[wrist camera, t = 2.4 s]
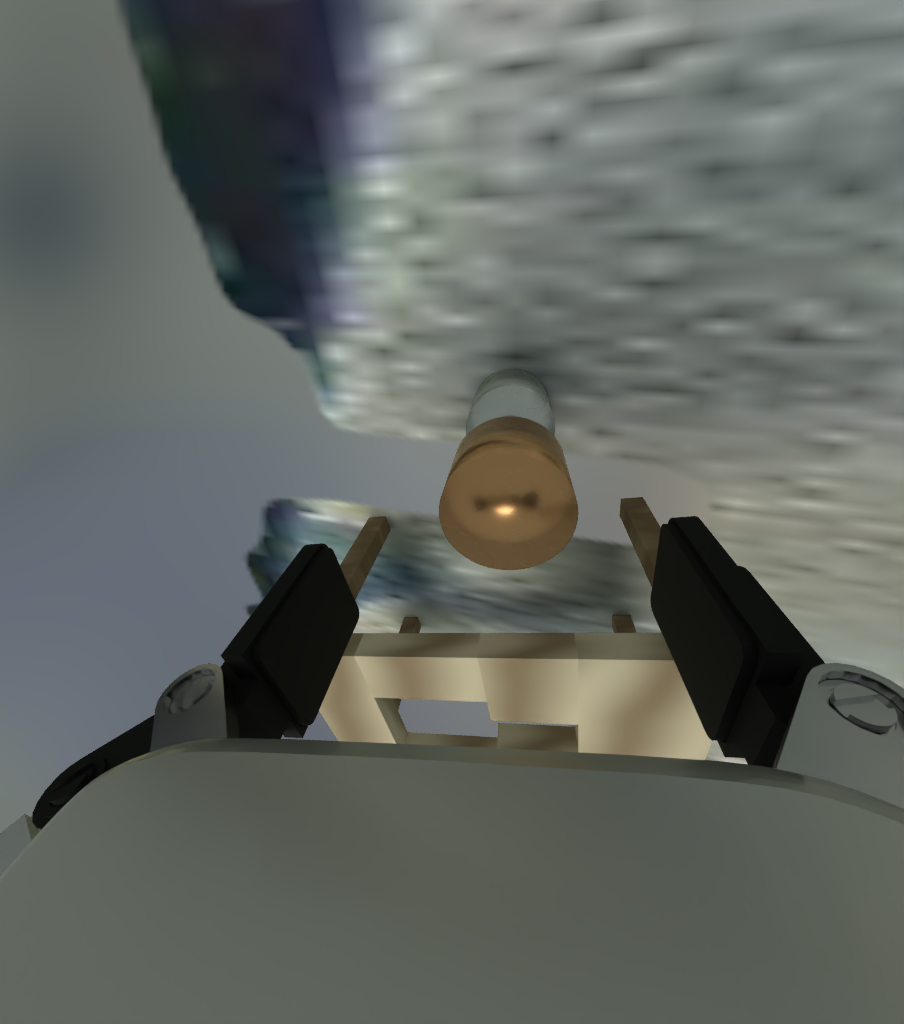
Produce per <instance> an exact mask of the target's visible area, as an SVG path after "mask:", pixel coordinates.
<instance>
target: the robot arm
mask: <svg viewBox="0 0 904 1024" xmlns="http://www.w3.org/2000/svg"><path fill="white" fill-rule="evenodd" d="M651 608H652V611H653V614H654V616H655V618H656V621H657V623H658V625H659V628H660V630H661V632H662V634H663V637H664V639H665V641H666V644H667V646H668V648H669V650H670V653H671V655H672V657H673V659H674V662H675V664H676V666H677V669H678V671H679V673H680V675H681V678H682V680H683V682H684V685H685V687H686V689H687V691H688V694H689V696H690V698H691V701H692V703H693V705H694V707H695V710H696V712H697V714H698V716H699V719H700V721H701V723H702V726H703V728H704V730H705V732H706V734H707V736H708V737H709V739H711V740H717V741H718V743H719V745H720V747H721V750H722V752H723V754H724V756H725V757H736V758H745V759H746V761H747V763H748V765H747V764H738V763H729V762H720V761H710V760H695V759H680V758H666V757H651V756H636V755H620V754H600V753H581V752H561V751H542V750H522V749H502V748H481V747H460V746H438V745H416V744H394V743H371V742H346V741H321V740H320V741H319V740H296V739H295V740H294V739H281V737H282V735H284V737H295V738H303V736H304V734H305V732H306V729H307V727H308V725H311V724H312V723H313V722H314V720H315V718H316V716H317V714H318V712H319V709H320V707H321V705H322V702H323V700H324V698H325V695H326V693H327V691H328V688H329V686H330V684H331V682H332V679H333V677H334V675H335V672H336V670H337V668H338V665H339V663H340V661H341V659H342V656H343V654H344V652H345V649H346V647H347V645H348V642H349V640H350V638H351V636H352V633H353V631H354V629H355V626H356V624H357V622H358V619H359V609H358V606H357V604H356V602H355V599H354V597H353V595H352V592H351V590H350V588H349V586H348V583H347V581H346V579H345V576H344V574H343V572H342V570H341V567H340V565H339V563H338V560H337V558H336V556H335V554H334V551H333V550H332V549H331V548H328V546H327V545H326V544H310V545H305V546H304V547H303V548H302V549H301V550H300V552H299V553H298V554H297V556H296V557H295V558H294V560H293V561H292V562H291V564H290V565H289V566H288V568H287V569H286V570H285V572H284V573H283V574H282V575H281V577H280V578H279V579H278V581H277V582H276V583H275V585H274V586H273V587H272V589H271V590H270V591H269V593H268V594H267V595H266V597H265V598H264V599H263V601H262V602H261V603H260V604H259V606H258V607H257V608H256V610H255V611H254V612H253V614H252V615H251V616H250V618H249V619H248V620H247V622H246V623H245V624H244V626H243V627H242V628H241V630H240V631H239V632H238V633H237V635H236V636H235V637H234V639H233V640H232V641H231V643H230V644H229V645H228V647H227V648H226V649H225V651H224V652H223V654H222V655H221V656H222V658H223V659H224V661H225V662H224V663H223V665H222V666H221V667H219V666H218V665H216V664H210V663H208V664H203V665H199V666H197V667H195V668H192V669H190V670H189V671H187V672H185V673H184V674H182V675H181V676H179V677H178V678H177V679H176V680H174V681H173V682H172V683H171V684H170V685H169V686H168V687H167V689H165V691H164V692H163V693H162V695H161V696H160V698H159V700H158V702H157V705H156V708H155V715H153V716H151V717H150V718H148V719H147V720H145V721H143V722H142V723H140V724H138V725H136V726H135V727H133V728H132V729H130V730H128V731H127V732H125V733H123V734H122V735H120V736H118V737H117V738H115V739H113V740H112V741H110V742H108V743H107V744H105V745H103V746H102V747H100V748H98V749H97V750H95V751H93V752H92V753H90V754H88V755H87V756H85V757H83V758H82V759H80V760H79V761H77V762H76V763H74V764H73V765H71V766H70V767H69V768H67V769H66V770H65V771H64V772H63V773H61V774H60V775H59V776H58V777H57V778H56V779H55V780H54V781H53V783H52V784H51V785H50V786H49V787H48V788H47V789H46V790H45V792H44V793H43V795H42V796H41V798H40V799H39V801H38V802H37V805H36V807H35V809H34V811H33V816H32V817H30V816H28V815H26V814H24V815H23V816H21V817H20V818H19V819H18V820H16V821H15V822H14V823H13V824H11V825H10V826H9V827H8V828H6V829H5V830H4V831H3V832H1V833H0V1024H904V689H903V688H901V687H900V686H898V685H897V684H895V683H894V682H892V681H891V680H889V679H887V678H885V677H882V676H880V675H878V674H876V673H874V672H872V671H869V670H866V669H863V668H860V667H856V666H853V665H847V664H840V663H829V664H825V663H824V661H823V660H822V659H821V658H820V656H819V655H818V654H817V653H816V652H815V650H814V649H813V648H812V647H811V646H810V644H809V643H808V642H807V641H806V640H805V638H804V637H803V636H802V635H801V634H800V632H799V631H798V630H797V629H796V628H795V626H794V625H793V624H792V623H791V621H790V620H789V619H788V618H787V617H786V615H785V614H784V613H783V612H782V611H781V609H780V608H779V607H778V606H777V605H776V603H775V602H774V601H773V600H772V599H771V597H770V596H769V595H768V594H767V593H766V591H765V590H764V589H763V588H762V586H761V585H760V584H759V583H758V582H757V580H756V579H755V578H754V577H753V576H752V574H751V573H750V572H749V571H748V570H747V569H746V568H744V567H741V566H737V565H736V563H735V562H734V561H733V560H732V558H731V557H730V556H729V555H728V553H727V552H726V551H725V550H724V548H723V547H722V546H721V545H720V543H719V542H718V541H717V540H716V538H715V537H714V536H713V535H712V533H711V532H710V531H709V530H708V529H707V527H706V526H705V525H704V524H703V522H702V521H701V520H700V519H699V518H698V517H696V516H691V517H678V518H671V519H670V520H669V522H668V524H663V525H662V526H661V530H660V537H659V544H658V551H657V558H656V565H655V572H654V579H653V586H652V592H651Z"/></svg>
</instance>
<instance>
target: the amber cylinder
mask: <svg viewBox="0 0 904 1024" xmlns="http://www.w3.org/2000/svg"><path fill="white" fill-rule="evenodd" d="M554 433H555V424H554V419H553V415H552V411H551V408H550V404H549V400H548V397H547V393H546V391H545V388H544V386H543V385H542V383H541V382H540V381H539V380H538V379H537V378H536V377H535V376H534V375H532V374H531V373H529V372H527V371H524V370H520V369H505V370H501V371H498V372H496V373H494V374H492V375H491V376H490V377H488V378H487V379H486V380H485V381H484V382H483V383H482V385H481V386H480V388H479V390H478V392H477V394H476V397H475V400H474V403H473V406H472V409H471V411H470V414H469V417H468V421H467V426H466V436H465V438H464V439H463V440H462V442H461V443H460V445H459V447H458V450H457V452H456V455H455V458H454V461H453V464H452V467H451V470H450V473H449V476H448V479H447V481H446V484H445V487H444V490H443V493H442V496H441V499H440V505H439V518H440V523H441V526H442V529H443V532H444V534H445V536H446V537H447V539H448V540H449V542H450V543H451V544H452V546H453V547H454V548H455V549H456V550H457V551H458V552H459V553H461V554H462V555H463V556H465V557H466V558H468V559H470V560H471V561H473V562H475V563H478V564H480V565H483V566H486V567H489V568H494V569H501V570H518V569H525V568H530V567H533V566H536V565H539V564H541V563H543V562H545V561H547V560H549V559H551V558H552V557H554V556H555V555H556V554H558V553H559V552H560V551H561V550H562V549H563V548H564V547H565V546H566V545H567V543H568V542H569V540H570V539H571V537H572V535H573V533H574V531H575V528H576V524H577V520H578V505H577V501H576V497H575V493H574V490H573V486H572V482H571V479H570V475H569V472H568V468H567V465H566V461H565V458H564V454H563V451H562V448H561V446H560V444H559V442H558V441H557V439H556V438H555V436H554Z"/></svg>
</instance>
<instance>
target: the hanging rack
mask: <svg viewBox="0 0 904 1024" xmlns="http://www.w3.org/2000/svg"><path fill="white" fill-rule="evenodd" d="M620 517H621V519H622V521H623V524H624V526H625V528H626V530H627V533H628V535H629V537H630V539H631V542H632V544H633V546H634V548H635V551H636V553H637V555H638V557H639V559H640V562H641V564H642V566H643V568H644V571H645V573H646V575H647V577H648V580H649V582H650V584H651V586H653V579H654V572H655V565H656V558H657V551H658V544H659V537H660V530H661V527H660V526H659V524H658V523H657V521H656V519H655V517H654V516H653V514H652V512H651V511H650V509H649V507H648V506H647V504H646V502H645V501H644V499H643V498H642V497H639V498H625V499H621V506H620ZM389 532H390V530H389V527H388V524H387V520H386V517H375V518H369V519H368V521H367V523H366V524H365V526H364V527H363V529H362V531H361V532H360V534H359V535H358V537H357V539H356V540H355V542H354V544H353V545H352V547H351V548H350V550H349V552H348V553H347V555H346V557H345V558H344V560H343V561H342V563H341V565H340V567H341V570H342V572H343V574H344V576H345V579H346V581H347V583H348V586H349V588H350V590H351V592H352V595H353V597H354V599H356V597H357V595H358V593H359V591H360V589H361V587H362V585H363V583H364V581H365V579H366V577H367V575H368V573H369V571H370V569H371V567H372V565H373V563H374V561H375V560H376V558H377V556H378V554H379V552H380V550H381V548H382V546H383V544H384V542H385V540H386V538H387V536H388V534H389ZM612 627H613V631H614V633H419V632H420V629H421V627H420V623H419V620H418V618H404V619H403V622H402V625H401V628H400V631H399V633H352V636H351V638H350V640H349V642H348V645H347V647H346V649H345V652H344V654H343V656H342V659H341V661H340V663H339V665H338V668H337V670H336V672H335V675H334V677H333V679H332V682H331V684H330V686H329V688H328V691H327V693H326V695H325V698H324V700H323V702H322V705H321V707H320V709H319V711H320V713H321V714H322V715H323V717H324V719H325V720H326V722H327V724H328V725H329V727H330V728H331V730H332V732H333V733H334V734H335V736H336V737H337V739H338V741H346V742H371V743H394V744H416V745H438V746H460V747H481V748H502V749H522V750H542V751H561V752H581V753H600V754H620V755H636V756H651V757H666V758H680V759H695V760H705V759H706V756H707V754H708V751H709V748H710V745H711V742H712V740H711V739H709V737H708V736H707V734H706V732H705V730H704V728H703V726H702V723H701V721H700V719H699V716H698V714H697V712H696V710H695V707H694V705H693V703H692V701H691V698H690V696H689V694H688V691H687V689H686V687H685V685H684V682H683V680H682V678H681V675H680V673H679V671H678V669H677V666H676V664H675V662H674V659H673V657H672V655H671V653H670V650H669V648H668V646H667V644H666V641H665V639H664V637H663V634H662V633H637V632H636V629H635V627H634V624H633V621H632V618H631V615H613V624H612ZM401 699H424V700H451V701H476V702H487V704H488V708H489V713H490V717H491V720H492V721H511V722H531V723H532V722H533V723H551V724H571V725H575V727H566V726H548V725H547V726H546V725H529V724H509V723H498V738H496V737H479V736H462V735H446V734H429V733H411V732H407V730H406V728H405V726H404V723H403V721H402V719H401V717H400V715H399V712H398V709H399V705H400V702H401Z"/></svg>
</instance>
